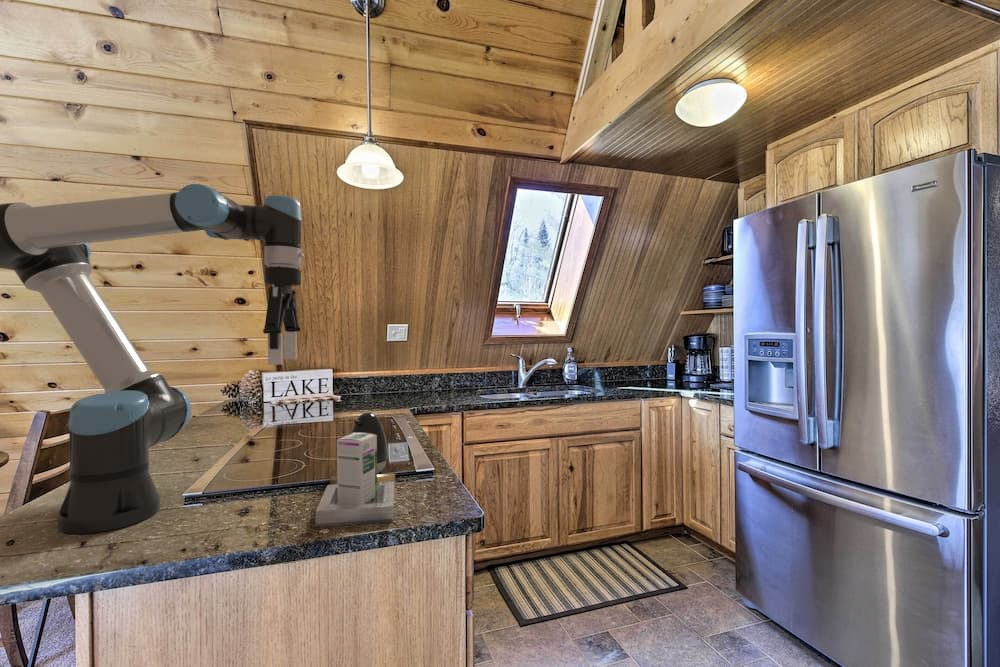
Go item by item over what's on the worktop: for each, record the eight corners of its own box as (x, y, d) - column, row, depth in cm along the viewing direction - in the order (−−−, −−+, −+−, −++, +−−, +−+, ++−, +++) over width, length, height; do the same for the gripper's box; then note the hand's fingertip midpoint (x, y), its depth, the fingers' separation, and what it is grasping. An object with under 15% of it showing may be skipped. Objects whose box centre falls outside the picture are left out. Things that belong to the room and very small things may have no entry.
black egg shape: (336, 477, 116) (336, 415, 115) (361, 464, 125) (361, 407, 125) (373, 482, 113) (373, 418, 112) (395, 469, 122) (396, 410, 122)
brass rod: (330, 492, 105) (330, 479, 105) (332, 487, 108) (332, 474, 108) (394, 489, 108) (394, 476, 108) (394, 484, 111) (395, 471, 111)
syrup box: (362, 513, 93) (362, 440, 93) (336, 509, 95) (336, 437, 94) (377, 502, 98) (378, 433, 98) (353, 499, 100) (353, 431, 100)
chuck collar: (315, 527, 88) (315, 511, 88) (327, 498, 102) (327, 484, 102) (392, 521, 91) (393, 506, 91) (394, 494, 105) (394, 481, 105)
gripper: (287, 261, 95) (287, 367, 96) (311, 272, 120) (311, 356, 121) (247, 260, 94) (247, 367, 95) (279, 271, 118) (279, 356, 119)
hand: (283, 361), depth 108 cm, fingers open, 13 cm apart
